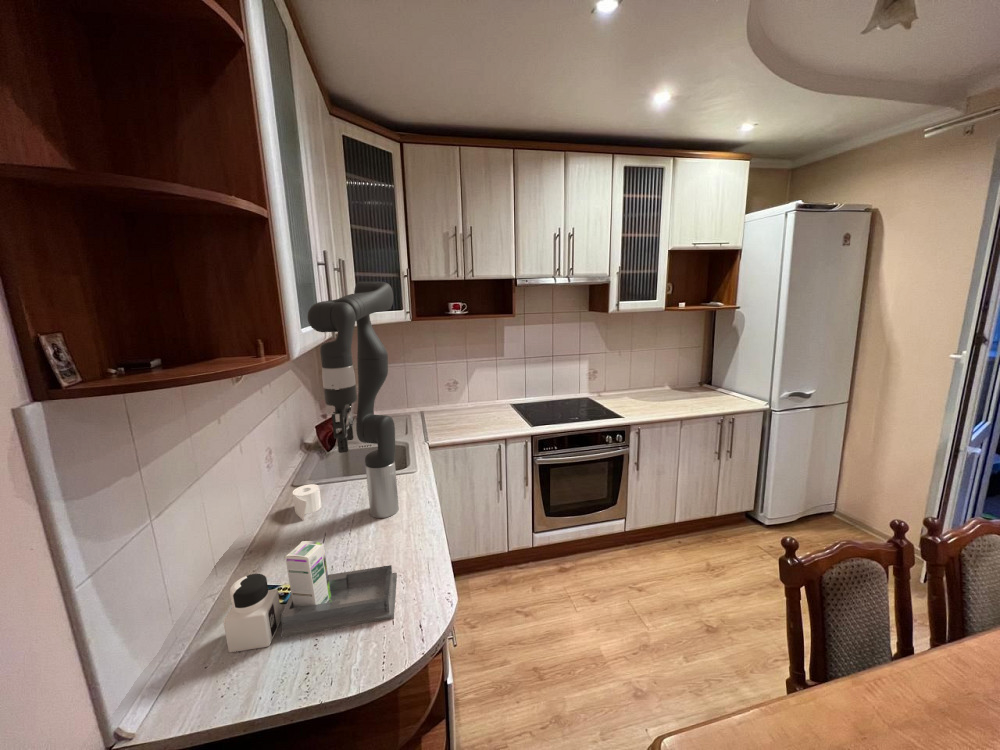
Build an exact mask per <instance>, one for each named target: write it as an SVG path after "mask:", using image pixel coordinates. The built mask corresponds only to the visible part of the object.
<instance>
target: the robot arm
mask: <svg viewBox="0 0 1000 750" xmlns="http://www.w3.org/2000/svg"><path fill="white" fill-rule="evenodd" d="M393 303H394V292H393V288H392V286H391V285H390V283H387V282H386V281H385V282H384V281H359V282H357V283H356V284H355V287H354V292H353V293H351V294H347V295H343V296H342V297H341V296H340V297H339V298H337V299H332V300H323V301H318V302H316V303H314V304H313V305H311V307H310V308H309V309H308V312H307V315H306V316H307V321H308V324H309V326H310V327H311V328H312V329H313V330H314V331H316V332H317V333H318V332H319V333H337V336H336V339H335V340H332V341H328V342H325V343H323V344H321V345H320V348H319V349H320V350H319V351H320V360H321V366H322V367H321V369H322V373H321V375H322V376H321V377H322V386H323V394H324V395H323V396H324V402H325V404H326V405H327V406H330V407H332V406H333V407H334V411H333V412H332V414H331V420H332V421H331V423H332V430H333V438H334V439H337V451H338V452H339V453H340V454H343V453H347V452H349V442H348V441H353V439H354V430H353V425H354V420H355V418H354V411H353V404H354V403H356V402H357V411H356V420H355V421H356V422H355V423H356V424H355V425H356V428H355V431H356V436H357V439H358V441H360V442H361V443H364V444H373V445H374V444H375V445H377V449H376V450H373V451H370V452H369V453H367V454H366V455H365V456H364V457H365V458H364V464H365V473H366V483H367V495H368V502H369V506H368V507H369V513H370V514H369V515H370V516H371V517H373V518H376V519H384V518H388V517H392V516H393V515H395V514H396V513H398V511H399V508H400V507H399V498H398V497H399V496H398V494H399V493H398V484H397V473H396V472H397V471H396V462H395V461H396V459H395V455H396V428H395V421H394V419H393V417H392V416H390V415H386V414H375V402H376V401H375V400H376V398H377V395H378V394H379V392H380V390H381V388H382V387H383V385H384V383H385V381H386V379H387V377H388V373H389V357H388V355H389V354H388V350H387V349H386V346H385V345H384V343H383V342H382V340H381V339H380V337H379V336H378V335H377V333H376V331H375V330H374V328H373V326H372V322H371V318H370V317H371V316H370V315H371V314H375V313H378V312H387V311H389V310H390V309H391V308H392V306H393ZM355 325H356V331H357V332H356V333H357V337H356V338H357V357H356V358H357V359H356V360H357V378H358V379H357V380H356V375H355V374H356V373H355V370H354V365H353V355H352V345H353V336H354V332H355V331H354V330H355ZM356 381H357V383H358V384H357V383H356ZM357 386H358V387H357ZM357 390H358V391H357ZM340 430H341V431H342V432H339V431H340Z"/></svg>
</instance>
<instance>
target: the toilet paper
mask: <svg viewBox="0 0 1000 750" xmlns="http://www.w3.org/2000/svg"><path fill="white" fill-rule="evenodd" d="M292 497H293V499H292V501H293V504H294V505H293V507H294V512H295V514H296V515H297V516H298V517H299V518H300V519H301V520H302V521H303V522H305V517H306V515H310V514H313V513H315V512H317V511H318V510H320V509H321V508H322V499H321V492H320V485H317V484H313V483H312V484H311V483H310V484H309V483H308V484H305V485H301V486H298V487H296V488H295V489H294V490H293V491H292Z"/></svg>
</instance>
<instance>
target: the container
mask: <svg viewBox="0 0 1000 750" xmlns="http://www.w3.org/2000/svg"><path fill="white" fill-rule="evenodd" d="M229 595H230V600H231V608H230V609H229V610H228V612H227V614H226V615H225V618H224V619H223V626H224V627H223V628H224V633H225V638H226V644H227V648H228V650H227V651H228V652H229V653H235V652H236V651H237V652H242V651H250V650H254V649H261V648H268V647H270V645H271V643H272V641H273V639H274V637H275V634H276V633H277V630H278V629H279V625H280V623H282V622H281V616H282V614H283V613H282V608H281V603H280V596H279V590H278V588H274V589H269V586H268V579H267V576H266V575H264V574H262V573H251V574H247V575H244V576H243V577H241V578H239V579H238V580H236V581H235V582H234V583H233V584H232V585H231V587H230V588H229Z"/></svg>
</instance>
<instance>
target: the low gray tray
mask: <svg viewBox="0 0 1000 750" xmlns="http://www.w3.org/2000/svg"><path fill="white" fill-rule="evenodd" d="M392 568H393V567H392V565H385V566H384V565H383V566H377V567H370V568H364V569H358V570H352V571H344V572H338V573H332V574H331V573H330V574H328V578H329V585H330V592H331V598H330V599H329V600H328V601H327V603H323V604H317V605H311V606H305V607H299V608H294V607H293V601H292V595H291V594H290V595H289V597H288V600H287V603H286V605H285V607H284V610H283V611H282V613H281V614H282V616H281V622H280V623H281V628H282V631H281V638H283V639H284V638H288V637H294V636H298V635H304V634H310V633H311V634H312V633H317V632H320V631H321V632H322V631H326V630H333V629H338V628H339V629H340V628H345V627H350V626H355V625H357V626H358V625H362V624H367V623H372V622H379V621H384V620H385V621H386V620H390V619H394V618H395V611H396V610H395V609H396V595H397V579H398V574H397V573H398V572H393V569H392Z"/></svg>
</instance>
